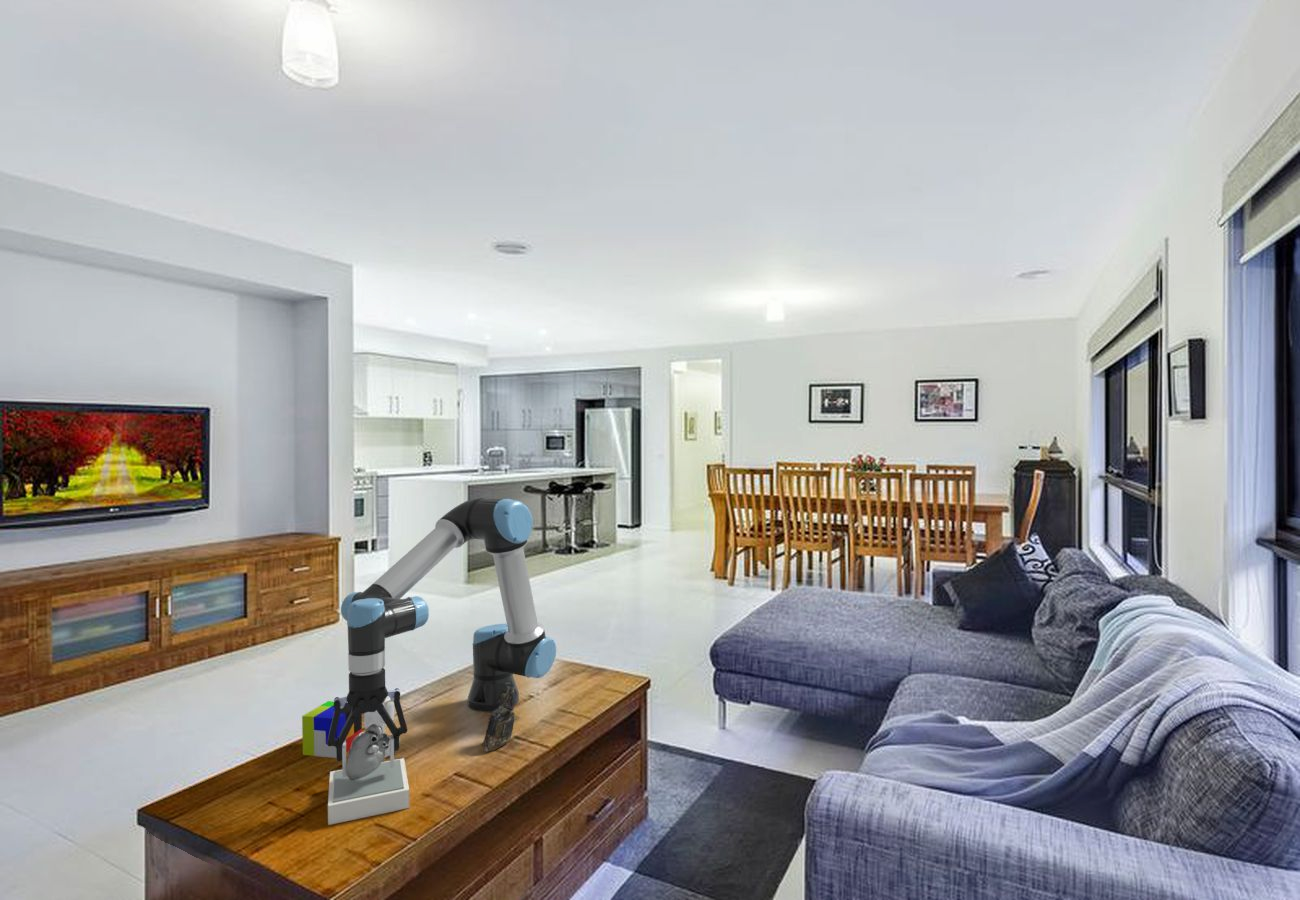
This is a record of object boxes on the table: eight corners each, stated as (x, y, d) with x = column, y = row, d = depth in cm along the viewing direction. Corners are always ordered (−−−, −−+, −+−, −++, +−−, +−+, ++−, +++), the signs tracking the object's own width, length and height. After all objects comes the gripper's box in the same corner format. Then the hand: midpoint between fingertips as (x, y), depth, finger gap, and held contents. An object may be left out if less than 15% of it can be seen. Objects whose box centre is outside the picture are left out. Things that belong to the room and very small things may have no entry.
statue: (475, 751, 175) (475, 693, 174) (504, 733, 185) (504, 678, 185) (493, 755, 172) (492, 696, 172) (521, 736, 183) (521, 681, 183)
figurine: (378, 745, 178) (377, 689, 178) (404, 753, 174) (403, 695, 173) (355, 757, 172) (354, 698, 171) (381, 765, 167) (380, 705, 167)
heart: (371, 757, 159) (363, 710, 157) (401, 766, 155) (392, 718, 153) (334, 784, 150) (325, 735, 148) (364, 794, 146) (355, 743, 144)
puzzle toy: (337, 758, 172) (337, 719, 171) (302, 754, 174) (302, 716, 173) (362, 740, 181) (361, 703, 181) (328, 737, 183) (328, 701, 183)
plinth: (404, 774, 163) (404, 756, 163) (409, 807, 148) (409, 788, 148) (330, 788, 156) (330, 770, 156) (328, 825, 142) (327, 804, 142)
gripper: (417, 658, 160) (418, 753, 160) (313, 671, 151) (315, 772, 151) (420, 668, 153) (421, 767, 153) (311, 682, 144) (313, 788, 144)
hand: (368, 769), depth 152 cm, fingers closed on heart, 9 cm apart
